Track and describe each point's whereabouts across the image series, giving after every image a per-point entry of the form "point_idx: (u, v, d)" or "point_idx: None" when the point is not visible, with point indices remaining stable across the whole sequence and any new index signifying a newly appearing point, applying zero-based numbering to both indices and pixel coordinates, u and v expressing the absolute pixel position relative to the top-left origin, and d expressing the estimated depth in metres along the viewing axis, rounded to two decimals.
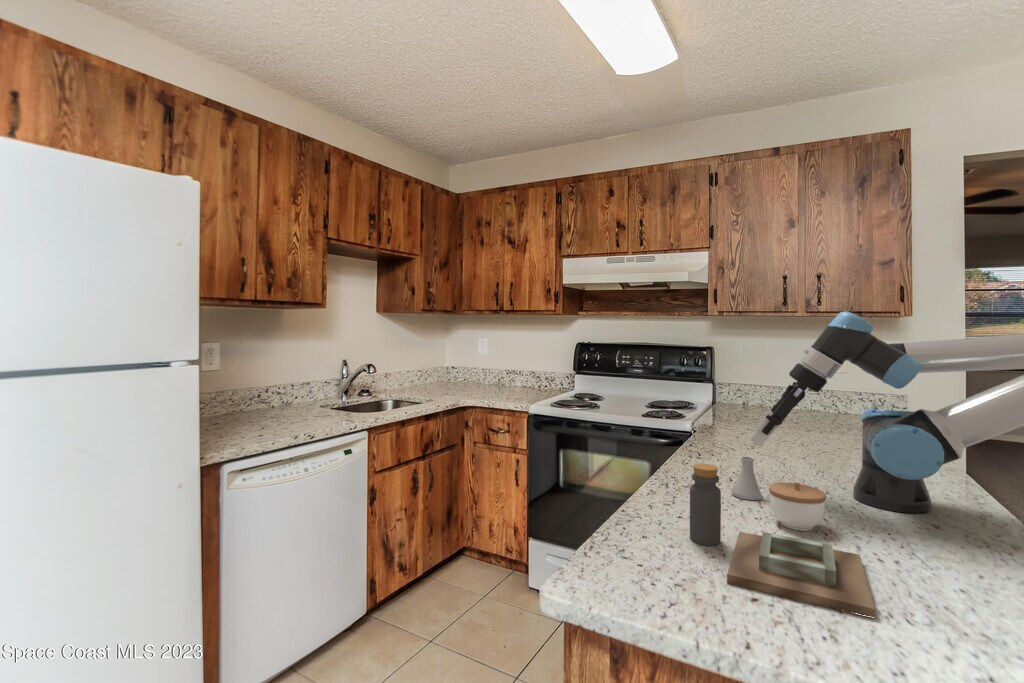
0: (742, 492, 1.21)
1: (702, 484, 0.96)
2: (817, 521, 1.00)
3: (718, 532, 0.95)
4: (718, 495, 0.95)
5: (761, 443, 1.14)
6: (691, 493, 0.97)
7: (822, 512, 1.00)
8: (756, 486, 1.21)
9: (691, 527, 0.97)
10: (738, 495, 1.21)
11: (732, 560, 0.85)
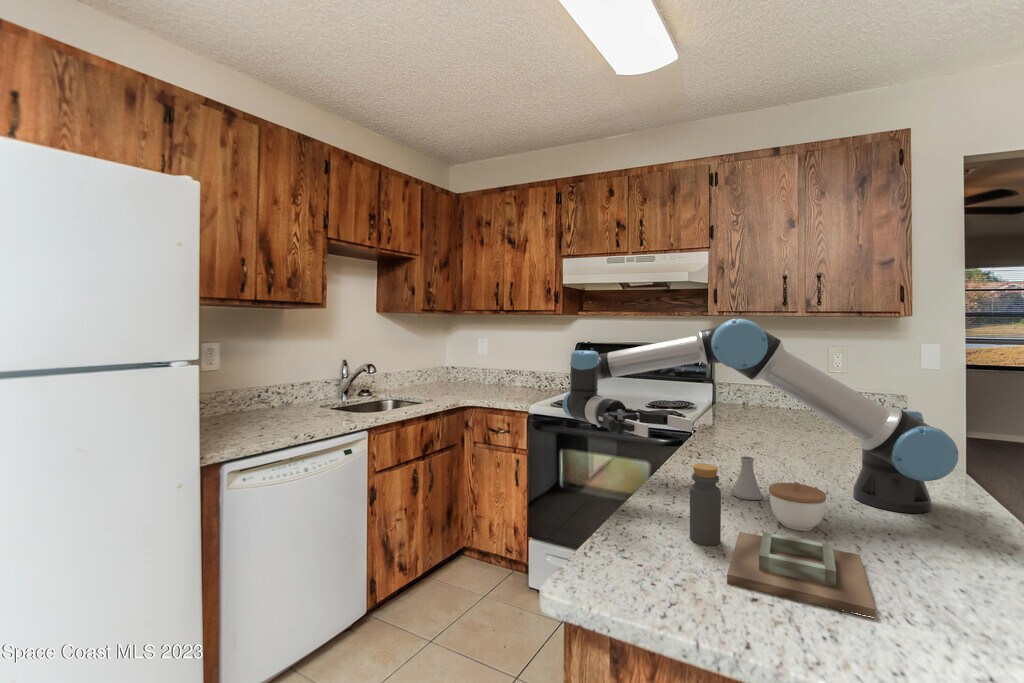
0: (742, 492, 1.21)
1: (702, 484, 0.96)
2: (817, 521, 1.00)
3: (718, 532, 0.95)
4: (718, 495, 0.95)
5: (642, 425, 1.03)
6: (691, 493, 0.97)
7: (822, 512, 1.00)
8: (756, 486, 1.21)
9: (691, 527, 0.97)
10: (738, 495, 1.21)
11: (732, 560, 0.85)
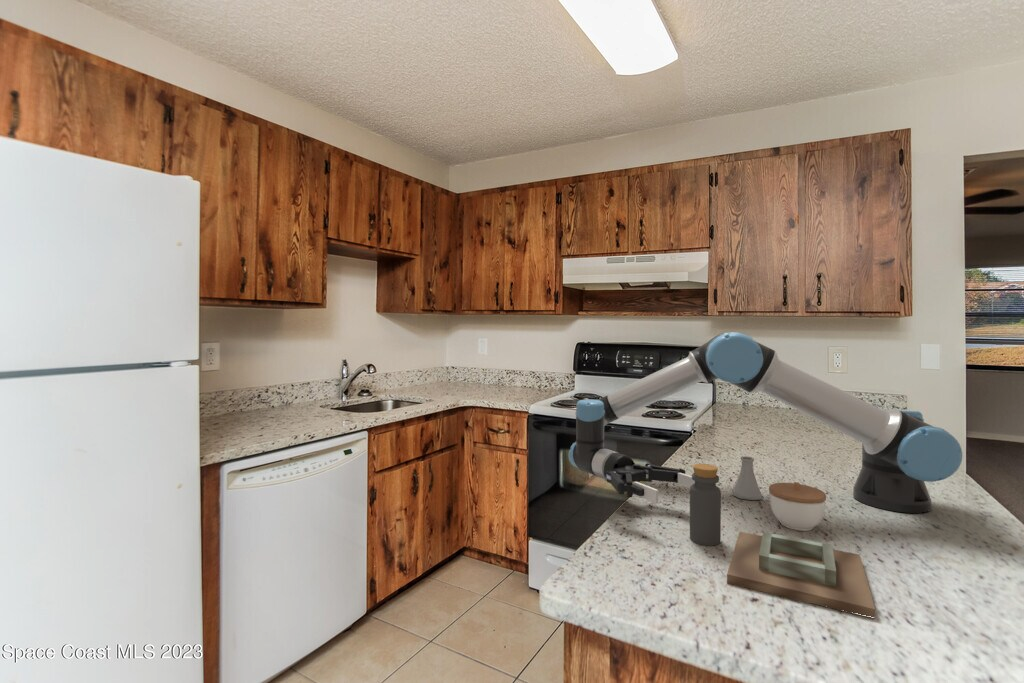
0: (742, 492, 1.21)
1: (702, 484, 0.96)
2: (817, 521, 1.00)
3: (718, 532, 0.95)
4: (718, 495, 0.95)
5: (652, 490, 0.99)
6: (691, 493, 0.97)
7: (822, 512, 1.00)
8: (756, 486, 1.21)
9: (691, 527, 0.97)
10: (738, 495, 1.21)
11: (732, 560, 0.85)
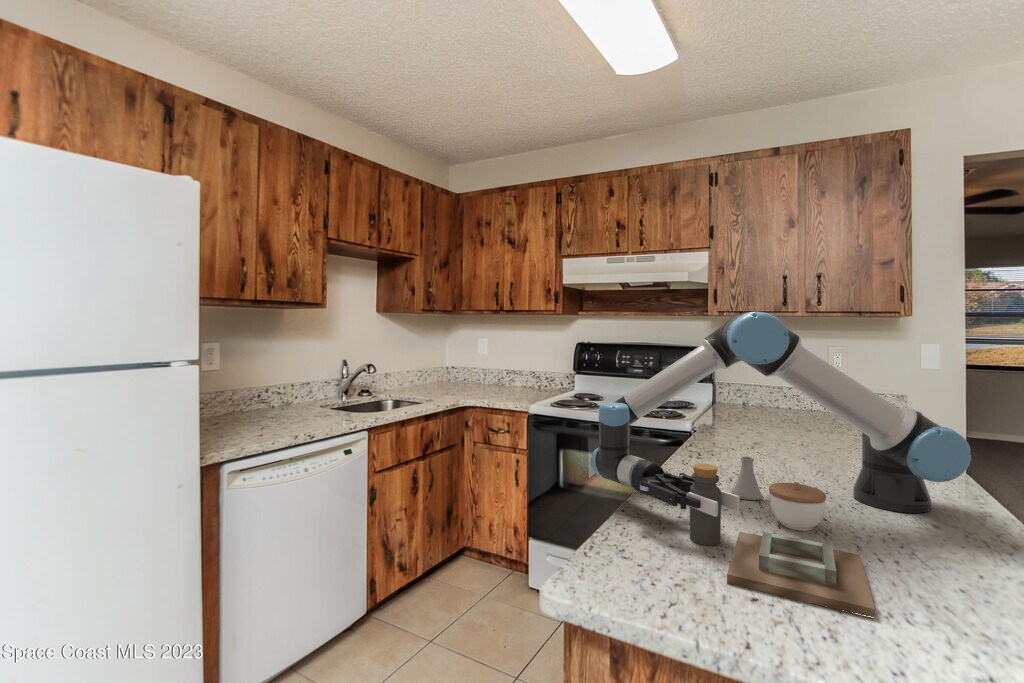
0: (742, 492, 1.21)
1: (702, 484, 0.96)
2: (817, 521, 1.00)
3: (718, 532, 0.95)
4: (718, 495, 0.95)
5: (711, 502, 0.92)
6: None
7: (822, 512, 1.00)
8: (756, 486, 1.21)
9: (691, 527, 0.97)
10: (738, 495, 1.21)
11: (732, 560, 0.85)
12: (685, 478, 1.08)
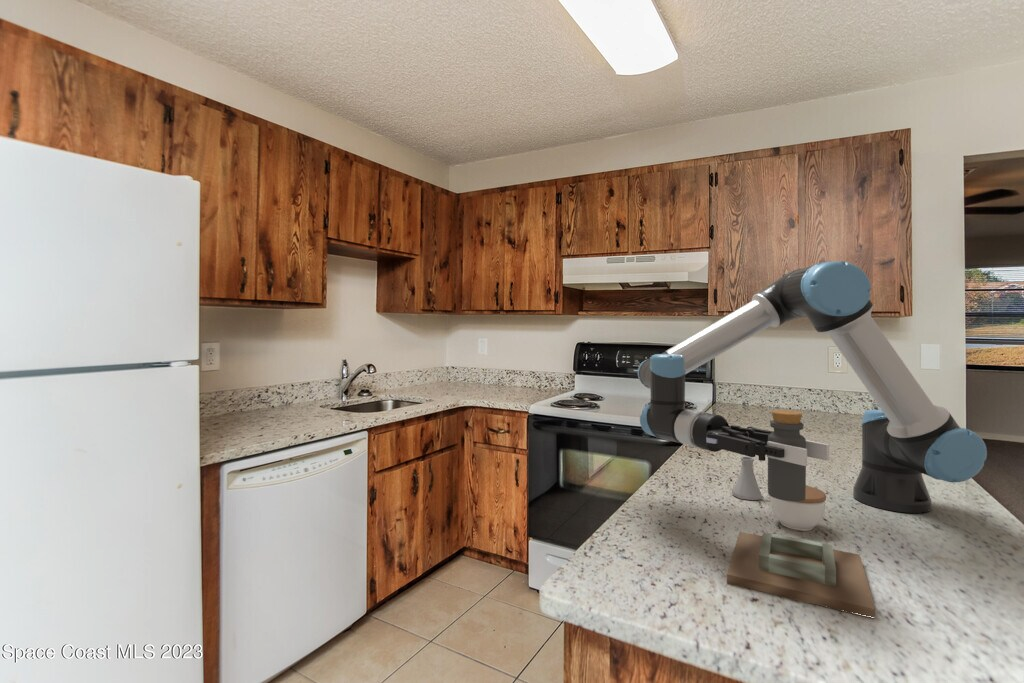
0: (742, 492, 1.21)
1: (784, 431, 0.83)
2: (817, 521, 1.00)
3: (804, 486, 0.82)
4: (804, 443, 0.82)
5: (799, 450, 0.79)
6: None
7: (822, 512, 1.00)
8: (756, 486, 1.21)
9: (771, 481, 0.84)
10: (738, 495, 1.21)
11: (732, 560, 0.85)
12: (755, 431, 0.95)
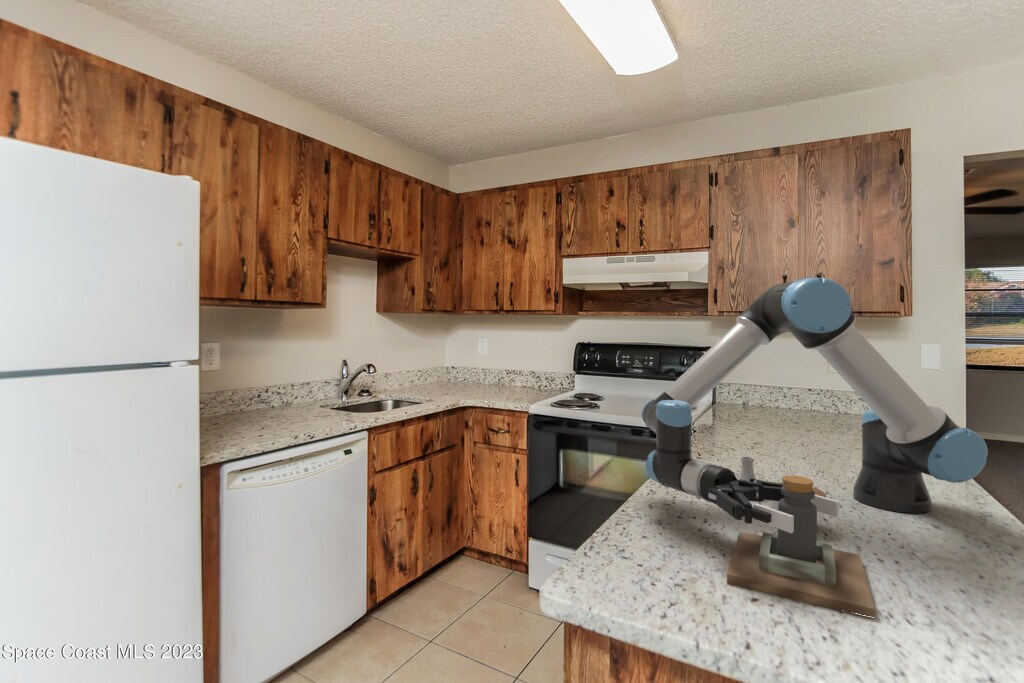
0: None
1: (796, 500, 0.82)
2: (817, 521, 1.00)
3: (814, 556, 0.82)
4: (815, 513, 0.81)
5: (785, 516, 0.78)
6: (781, 510, 0.83)
7: None
8: None
9: (781, 549, 0.84)
10: None
11: (732, 560, 0.85)
12: (761, 484, 0.96)
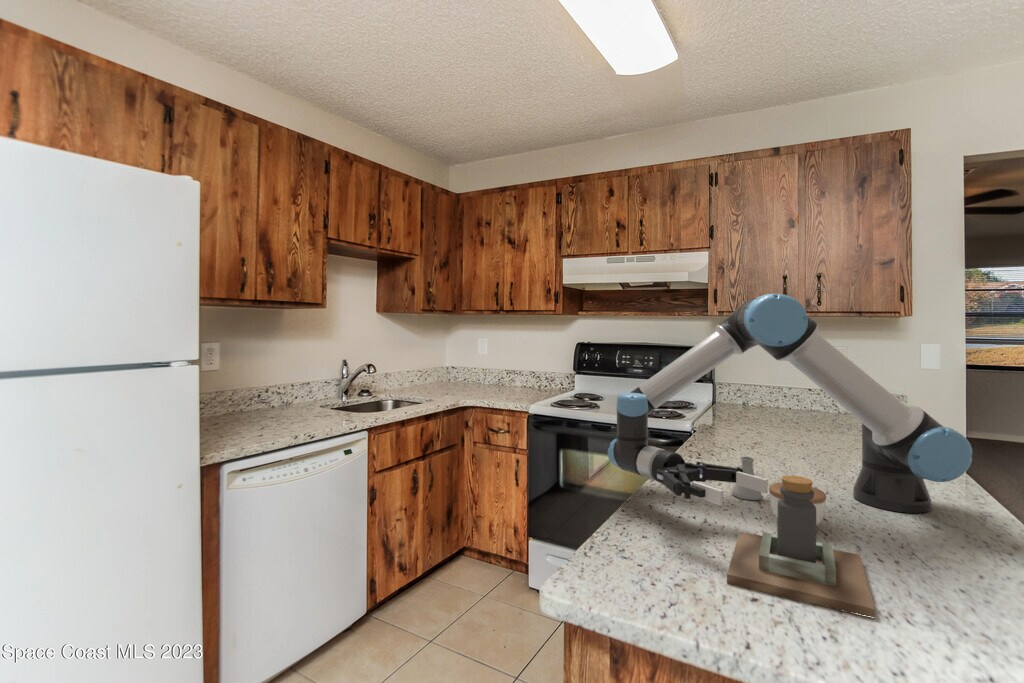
0: (742, 492, 1.21)
1: (795, 500, 0.82)
2: (817, 521, 1.00)
3: (814, 556, 0.82)
4: (814, 513, 0.81)
5: (716, 491, 0.90)
6: (781, 510, 0.84)
7: (822, 512, 1.00)
8: None
9: (781, 549, 0.84)
10: (738, 495, 1.21)
11: (732, 560, 0.85)
12: (706, 466, 1.07)
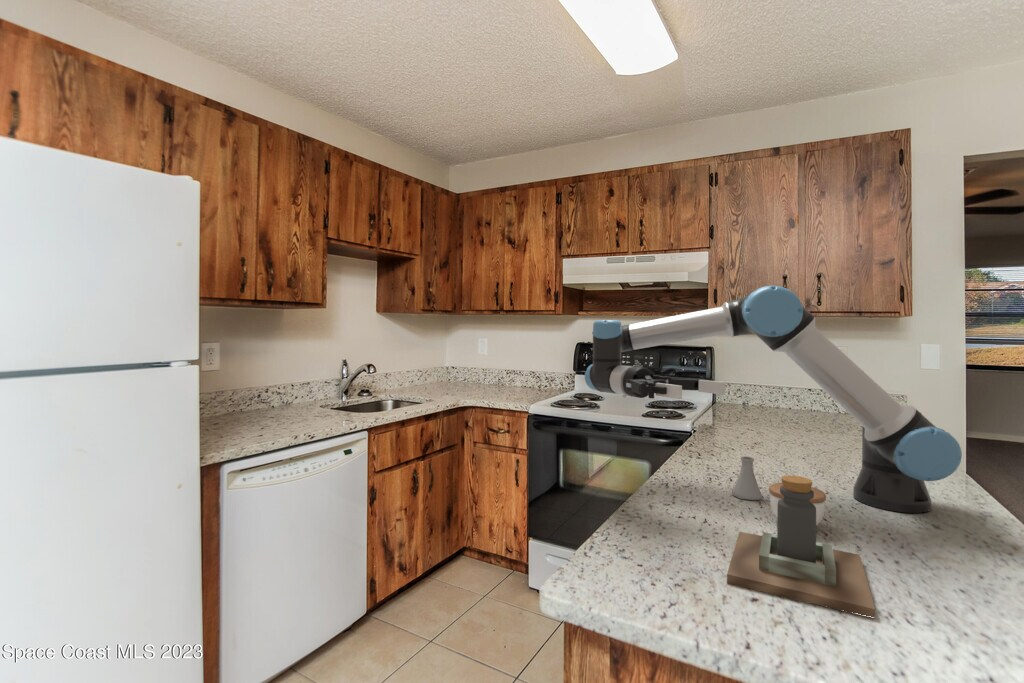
0: (742, 492, 1.21)
1: (795, 500, 0.82)
2: (817, 521, 1.00)
3: (814, 556, 0.82)
4: (814, 513, 0.81)
5: (676, 387, 0.98)
6: (780, 510, 0.84)
7: (822, 512, 1.00)
8: (756, 486, 1.21)
9: (780, 549, 0.84)
10: (738, 495, 1.21)
11: (732, 560, 0.85)
12: None
